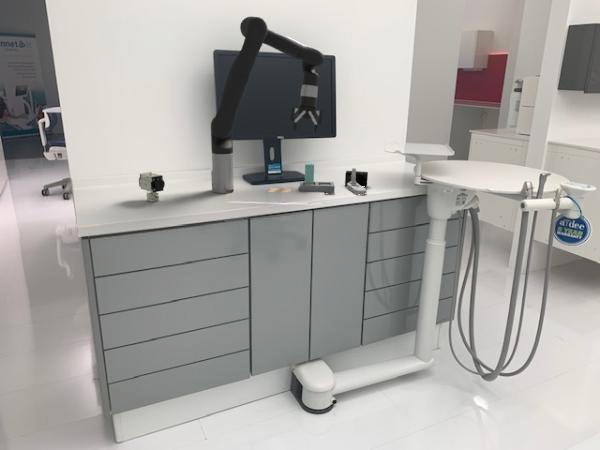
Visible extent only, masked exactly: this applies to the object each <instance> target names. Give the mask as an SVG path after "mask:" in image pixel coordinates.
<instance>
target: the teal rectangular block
mask: <svg viewBox="0 0 600 450" xmlns="http://www.w3.org/2000/svg"><path fill="white" fill-rule="evenodd" d="M314 177H315V163H313V162H305V163H304V181H305V184H314V182H315V181H314V180H315V178H314Z"/></svg>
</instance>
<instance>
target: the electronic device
mask: <svg viewBox="0 0 600 450" xmlns="http://www.w3.org/2000/svg"><path fill="white" fill-rule="evenodd" d="M351 171H352V175H351V181H350V183H348V184H347V186H346V189H347V188H348V189H347V190H349V191H350V190H351V191H350V192H352V191H353V192H354V193H356V194H365V193H366V194H367V192H368V190H367V188H364V187H362V186H361V185H359V184H358V183H356V182H355V179H356V171H357V168H355V167H354V168H351ZM353 192H352V193H353ZM354 193H353V194H354ZM356 194H355V195H356Z"/></svg>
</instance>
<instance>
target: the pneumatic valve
mask: <svg viewBox="0 0 600 450" xmlns="http://www.w3.org/2000/svg"><path fill="white" fill-rule="evenodd" d="M165 183H166V182H165V180H164V178H163V175H161V174H157V173H154V172H152V171H149V172H145V173H139V178H138V185H139V187H140V189H141V190H144V191H147V193H146V199H147V200H146V201H147V202H150V203H154V202H158V201H160V199H159V198H160V197H159V192H162V191H164V188H165Z"/></svg>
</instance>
